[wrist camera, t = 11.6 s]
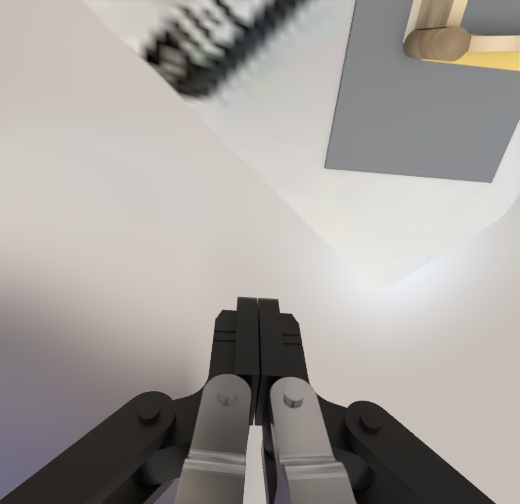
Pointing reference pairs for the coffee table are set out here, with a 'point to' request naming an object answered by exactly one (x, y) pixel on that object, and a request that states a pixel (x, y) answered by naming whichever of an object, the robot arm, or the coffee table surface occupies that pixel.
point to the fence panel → (494, 43)
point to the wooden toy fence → (438, 31)
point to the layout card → (425, 97)
